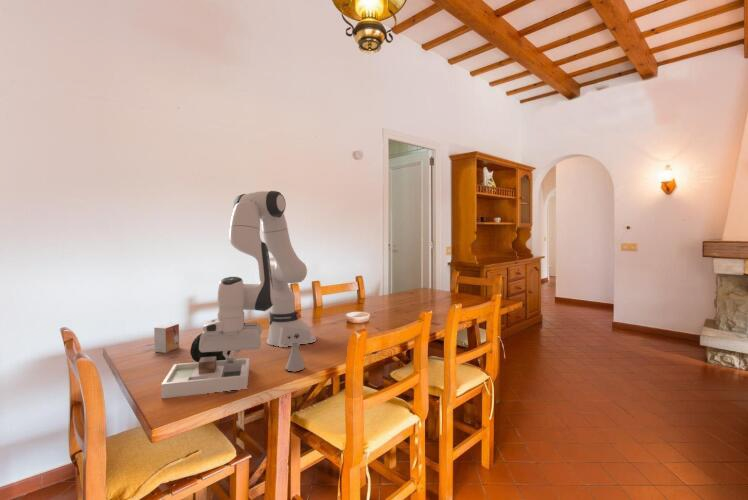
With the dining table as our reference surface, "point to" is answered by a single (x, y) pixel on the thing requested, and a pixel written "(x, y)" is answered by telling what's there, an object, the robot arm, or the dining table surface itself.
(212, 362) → the walnut block
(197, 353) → the squash
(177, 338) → the small box
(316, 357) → the dining table surface
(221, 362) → the track
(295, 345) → the flask
